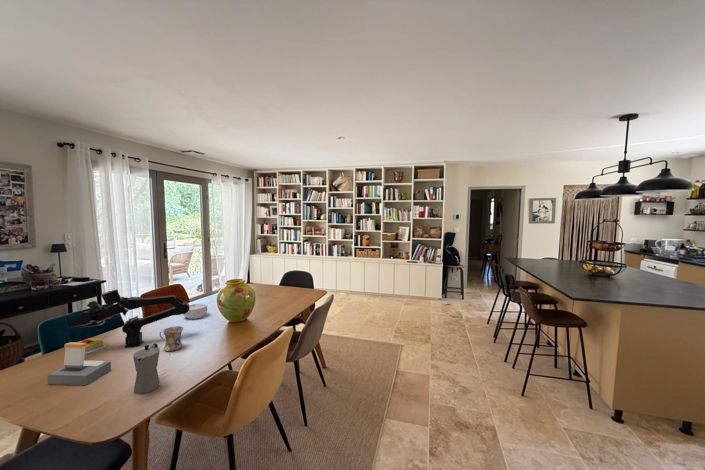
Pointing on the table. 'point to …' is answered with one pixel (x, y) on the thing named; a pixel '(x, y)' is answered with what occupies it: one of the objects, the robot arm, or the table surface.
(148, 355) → the coffeepot
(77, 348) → the handle
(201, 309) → the paper bowls
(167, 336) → the mug
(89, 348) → the emergency button
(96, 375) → the box
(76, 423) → the table surface
